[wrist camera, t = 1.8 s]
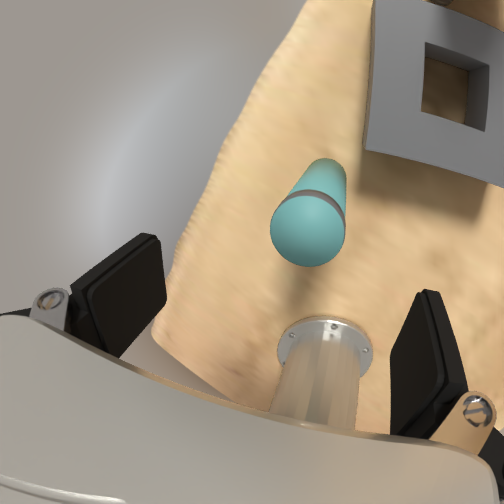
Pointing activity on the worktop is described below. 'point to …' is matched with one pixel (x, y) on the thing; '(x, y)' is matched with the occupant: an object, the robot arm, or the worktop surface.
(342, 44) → the worktop surface
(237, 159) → the worktop surface
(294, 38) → the worktop surface
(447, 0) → the flask
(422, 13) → the socket block
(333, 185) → the peg
